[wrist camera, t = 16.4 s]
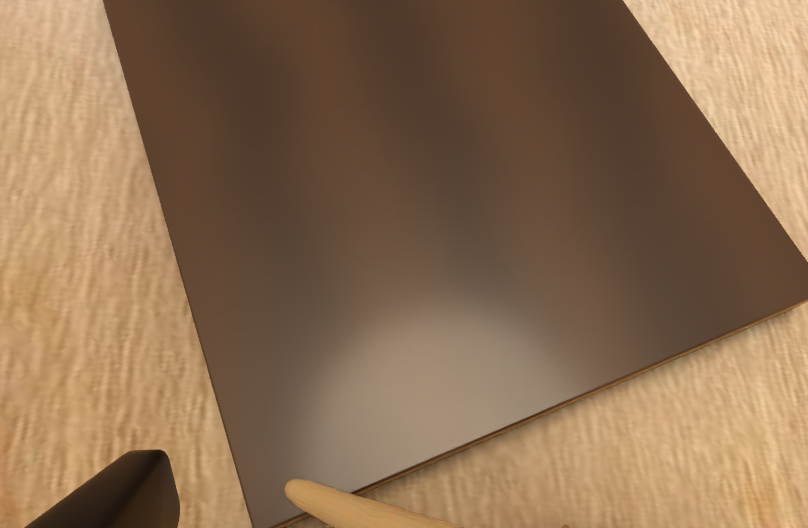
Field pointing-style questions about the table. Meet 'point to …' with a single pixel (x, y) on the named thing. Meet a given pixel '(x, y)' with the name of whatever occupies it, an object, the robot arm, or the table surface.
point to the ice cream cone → (355, 509)
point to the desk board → (433, 220)
